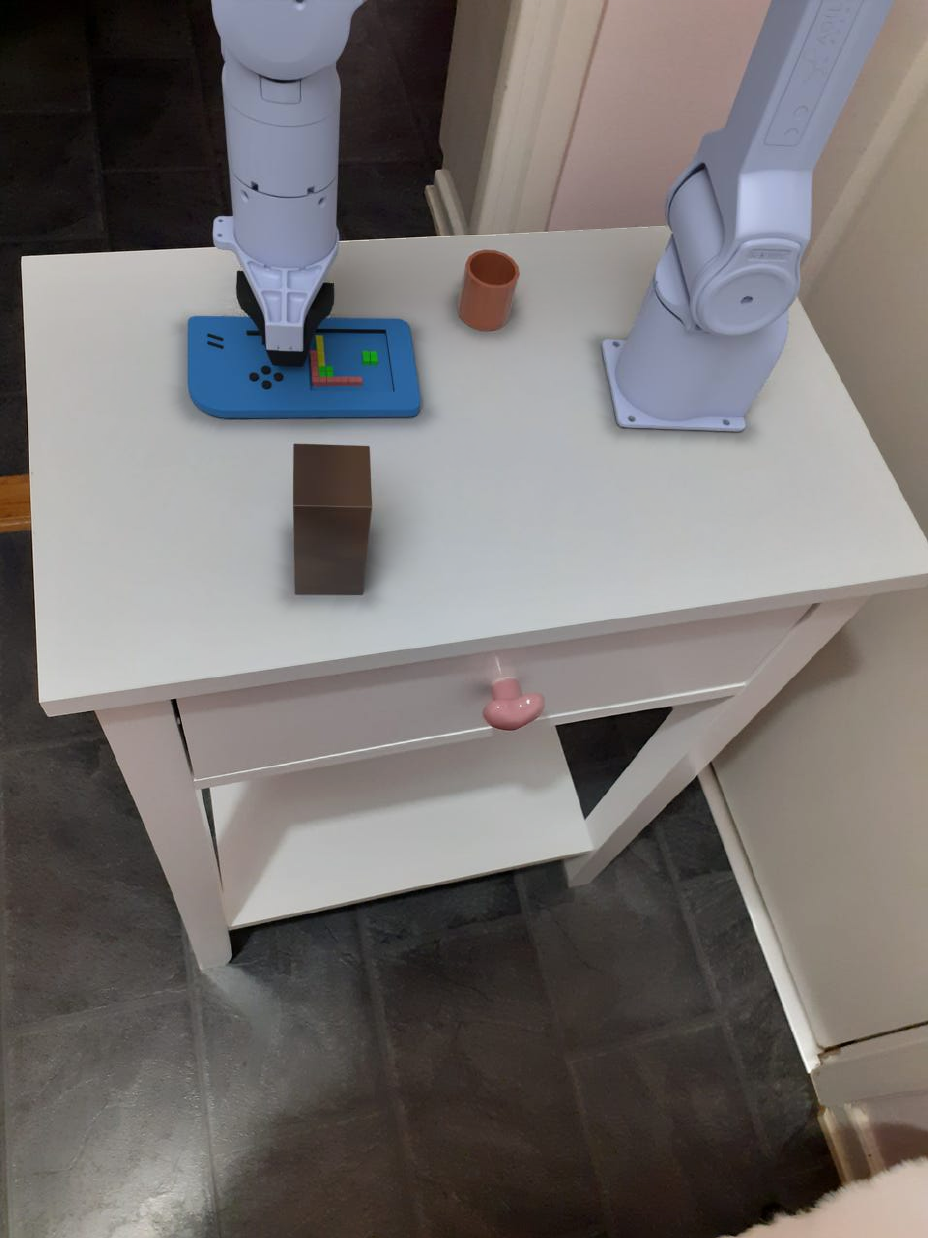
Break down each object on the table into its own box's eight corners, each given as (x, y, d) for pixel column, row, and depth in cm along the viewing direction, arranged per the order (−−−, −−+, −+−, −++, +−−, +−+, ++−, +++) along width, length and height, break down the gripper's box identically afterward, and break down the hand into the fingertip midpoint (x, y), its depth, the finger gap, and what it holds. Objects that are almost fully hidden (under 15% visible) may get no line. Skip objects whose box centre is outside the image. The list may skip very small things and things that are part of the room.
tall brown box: (361, 538, 57) (369, 445, 49) (362, 595, 55) (372, 507, 47) (294, 537, 56) (293, 442, 48) (294, 594, 54) (292, 505, 46)
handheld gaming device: (187, 311, 62) (409, 314, 65) (188, 324, 63) (407, 326, 66) (186, 407, 58) (422, 405, 61) (188, 418, 59) (420, 417, 62)
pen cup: (505, 295, 69) (516, 251, 66) (511, 332, 67) (522, 289, 64) (455, 292, 68) (463, 247, 65) (459, 329, 67) (468, 286, 63)
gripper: (212, 72, 52) (229, 268, 63) (198, 252, 45) (220, 434, 57) (339, 84, 53) (333, 274, 65) (344, 262, 46) (336, 438, 58)
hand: (287, 349), depth 61 cm, fingers closed
